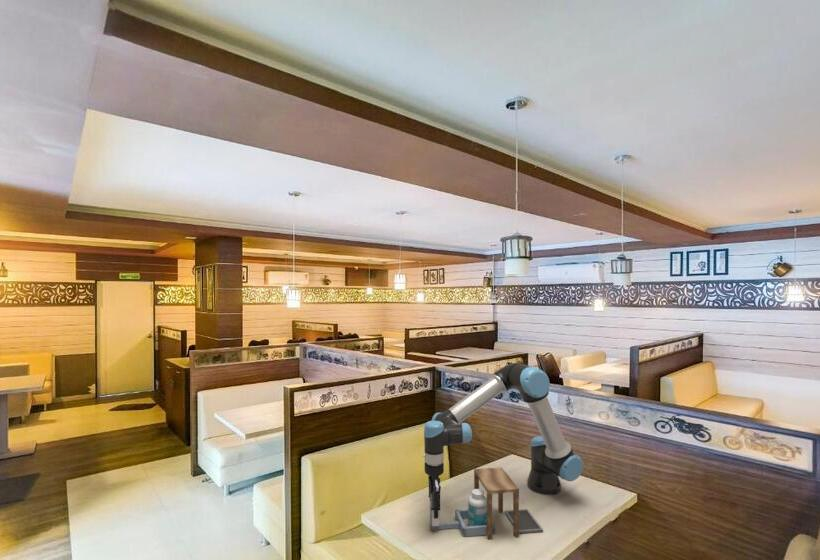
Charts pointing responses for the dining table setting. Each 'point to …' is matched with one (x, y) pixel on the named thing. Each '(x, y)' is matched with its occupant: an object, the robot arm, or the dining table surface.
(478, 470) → the tunnel
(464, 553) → the dining table surface
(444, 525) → the grey frame on stick
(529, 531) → the dark grey flat plate
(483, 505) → the pill bottle
